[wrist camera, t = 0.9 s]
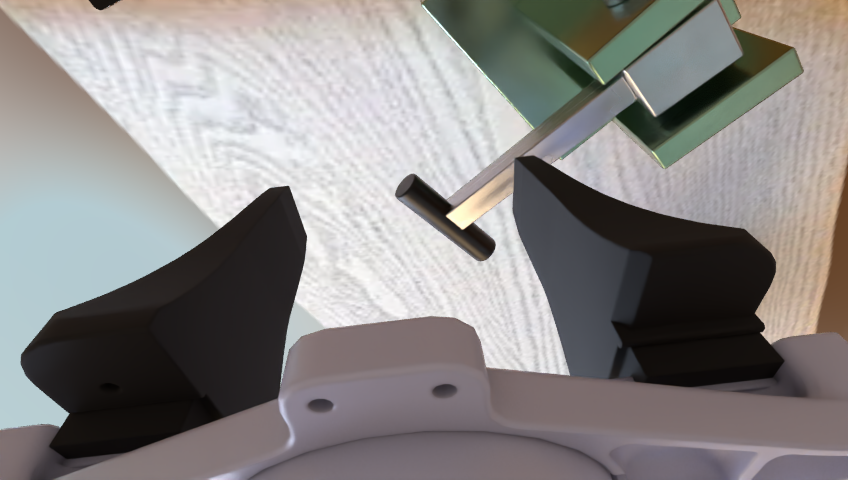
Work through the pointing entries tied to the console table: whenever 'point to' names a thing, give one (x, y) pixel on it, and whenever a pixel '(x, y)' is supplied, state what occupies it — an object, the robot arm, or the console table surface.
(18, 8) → the console table surface
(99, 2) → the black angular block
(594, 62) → the bracket
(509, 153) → the lever
